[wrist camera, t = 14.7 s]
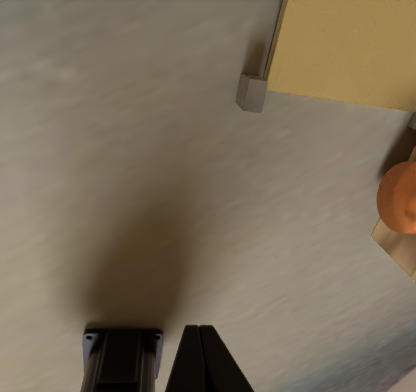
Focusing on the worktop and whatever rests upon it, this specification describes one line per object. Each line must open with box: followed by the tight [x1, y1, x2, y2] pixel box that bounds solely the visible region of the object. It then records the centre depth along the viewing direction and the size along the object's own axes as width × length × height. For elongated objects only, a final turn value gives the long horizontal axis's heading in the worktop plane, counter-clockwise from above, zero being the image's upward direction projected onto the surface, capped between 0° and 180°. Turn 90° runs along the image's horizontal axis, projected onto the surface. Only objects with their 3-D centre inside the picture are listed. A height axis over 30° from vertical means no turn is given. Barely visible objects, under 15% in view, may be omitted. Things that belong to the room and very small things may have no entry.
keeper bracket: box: [236, 73, 416, 130], centre depth 18 cm, size 2×13×2 cm, turn 81°
